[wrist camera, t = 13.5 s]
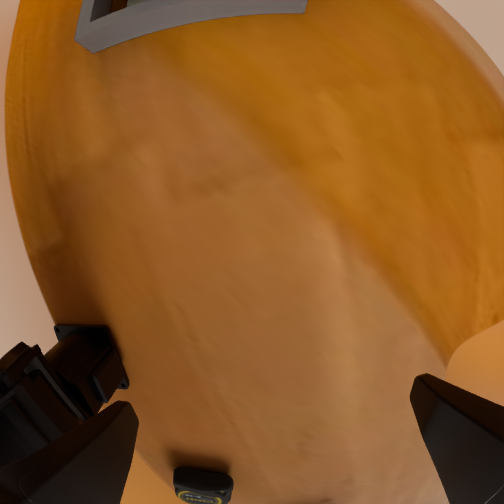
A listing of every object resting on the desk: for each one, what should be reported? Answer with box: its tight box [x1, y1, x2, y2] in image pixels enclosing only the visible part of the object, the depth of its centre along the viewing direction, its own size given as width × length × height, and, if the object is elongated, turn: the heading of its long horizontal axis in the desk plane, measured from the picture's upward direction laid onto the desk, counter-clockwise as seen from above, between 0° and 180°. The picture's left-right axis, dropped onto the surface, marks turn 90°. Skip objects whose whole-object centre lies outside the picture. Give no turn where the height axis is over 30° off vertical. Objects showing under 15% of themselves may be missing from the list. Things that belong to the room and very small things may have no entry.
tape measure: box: [173, 467, 234, 504], centre depth 23 cm, size 7×7×4 cm
